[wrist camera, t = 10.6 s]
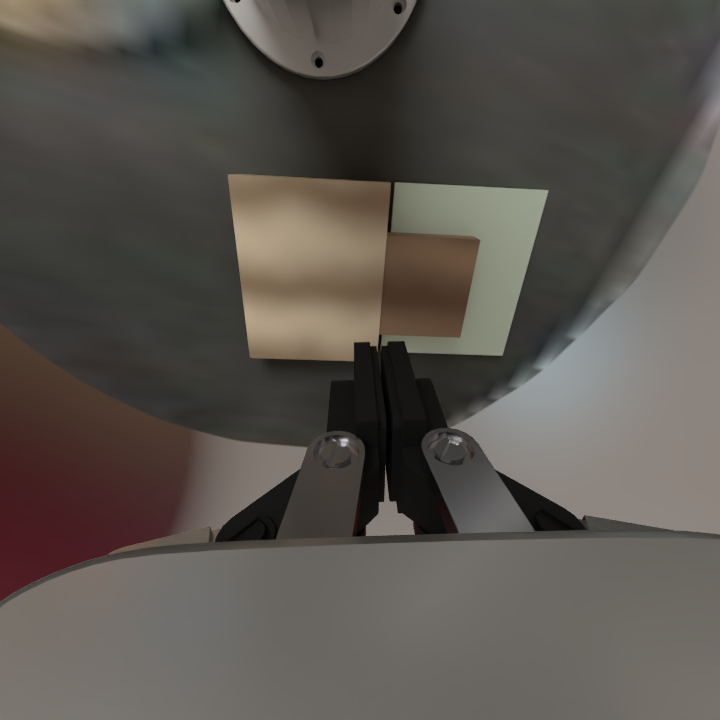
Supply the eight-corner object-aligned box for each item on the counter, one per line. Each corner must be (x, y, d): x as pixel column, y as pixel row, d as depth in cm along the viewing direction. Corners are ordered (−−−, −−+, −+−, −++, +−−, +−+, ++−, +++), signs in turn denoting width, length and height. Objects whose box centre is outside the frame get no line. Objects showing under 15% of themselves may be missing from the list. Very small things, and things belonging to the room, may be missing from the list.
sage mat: (394, 182, 26) (395, 182, 25) (545, 190, 26) (548, 190, 26) (380, 349, 32) (380, 351, 32) (500, 353, 33) (502, 355, 32)
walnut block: (384, 231, 27) (386, 235, 25) (473, 236, 27) (480, 240, 26) (377, 326, 31) (378, 334, 29) (454, 329, 31) (460, 337, 29)
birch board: (238, 173, 25) (227, 174, 23) (387, 181, 26) (391, 182, 23) (257, 345, 32) (250, 357, 30) (375, 349, 32) (376, 361, 30)
